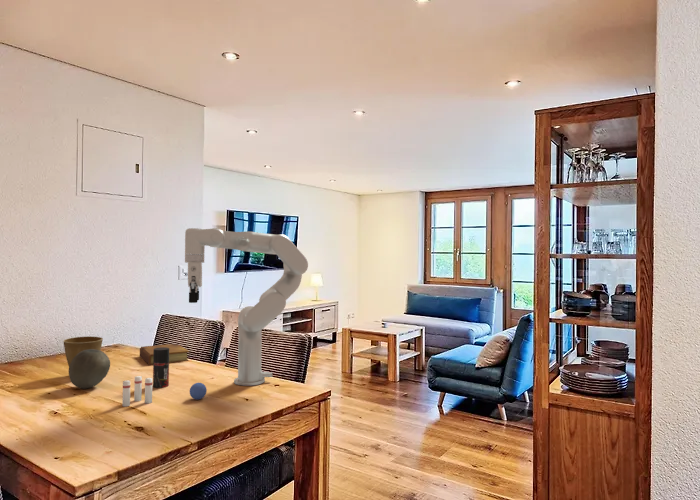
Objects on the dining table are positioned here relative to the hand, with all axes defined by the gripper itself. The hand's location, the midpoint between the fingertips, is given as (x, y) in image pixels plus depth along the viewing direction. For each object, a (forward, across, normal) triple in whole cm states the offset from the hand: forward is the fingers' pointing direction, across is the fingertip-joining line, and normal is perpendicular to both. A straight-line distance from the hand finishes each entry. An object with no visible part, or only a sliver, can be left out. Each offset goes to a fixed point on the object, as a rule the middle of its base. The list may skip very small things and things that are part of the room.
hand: (194, 301), depth 195 cm
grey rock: (+34, +7, +40) cm, 53 cm away
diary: (+35, +58, +18) cm, 70 cm away
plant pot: (+34, +27, +47) cm, 64 cm away
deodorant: (+34, +4, +13) cm, 37 cm away
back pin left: (+34, -20, +21) cm, 45 cm away
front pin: (+34, -18, +14) cm, 41 cm away
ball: (+31, -18, -3) cm, 36 cm away
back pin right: (+34, -15, +18) cm, 41 cm away
